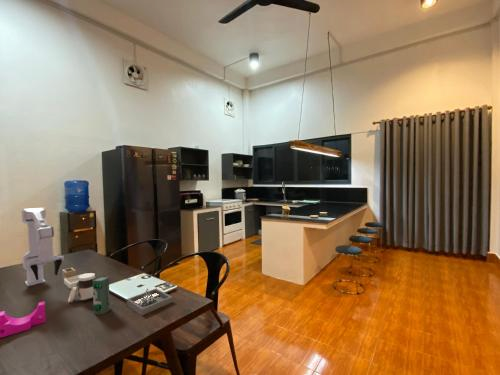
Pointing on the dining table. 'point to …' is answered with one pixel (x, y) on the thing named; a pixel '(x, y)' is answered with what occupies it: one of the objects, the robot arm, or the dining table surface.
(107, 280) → the can
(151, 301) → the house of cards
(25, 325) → the magenta saddle bracket
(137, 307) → the grey square tray
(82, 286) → the spread jar
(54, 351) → the dining table surface
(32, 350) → the dining table surface
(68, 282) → the white square tray
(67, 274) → the pine crate
